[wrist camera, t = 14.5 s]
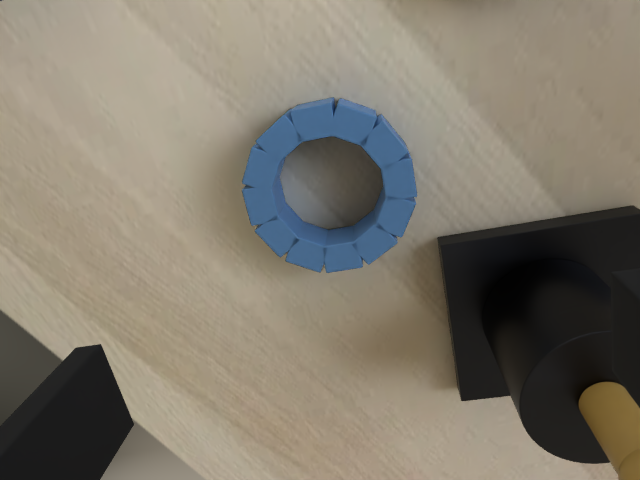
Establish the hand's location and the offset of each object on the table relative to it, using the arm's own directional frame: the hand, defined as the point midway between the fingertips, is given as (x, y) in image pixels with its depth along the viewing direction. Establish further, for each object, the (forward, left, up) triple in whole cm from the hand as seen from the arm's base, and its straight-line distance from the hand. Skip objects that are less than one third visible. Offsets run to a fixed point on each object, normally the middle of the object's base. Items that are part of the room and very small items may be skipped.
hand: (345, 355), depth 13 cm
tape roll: (+2, 0, -20) cm, 20 cm away
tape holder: (-10, +11, -20) cm, 25 cm away
